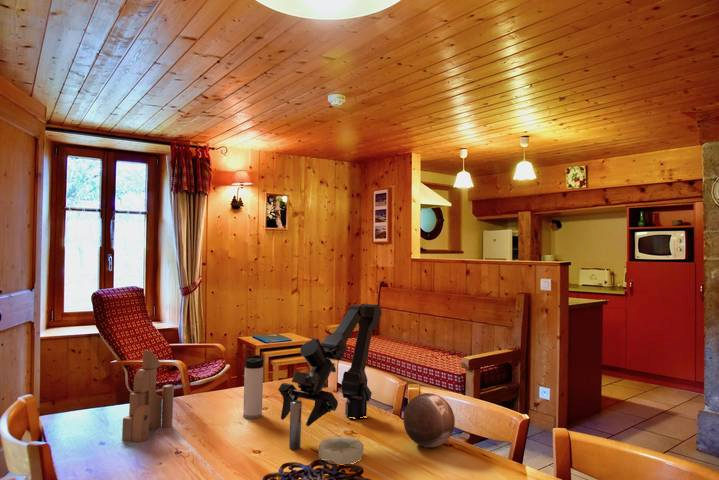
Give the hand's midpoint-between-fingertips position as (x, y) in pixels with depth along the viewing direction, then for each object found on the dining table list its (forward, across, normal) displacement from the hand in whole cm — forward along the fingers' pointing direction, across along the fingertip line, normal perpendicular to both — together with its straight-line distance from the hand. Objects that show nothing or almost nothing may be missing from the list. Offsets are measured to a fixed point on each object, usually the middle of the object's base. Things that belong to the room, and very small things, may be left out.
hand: (294, 422), depth 138 cm
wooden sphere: (-12, +31, +23) cm, 40 cm away
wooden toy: (+16, -44, -5) cm, 47 cm away
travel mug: (-4, -29, +15) cm, 33 cm away
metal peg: (+5, 0, +6) cm, 7 cm away
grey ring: (+3, +14, +8) cm, 16 cm away
